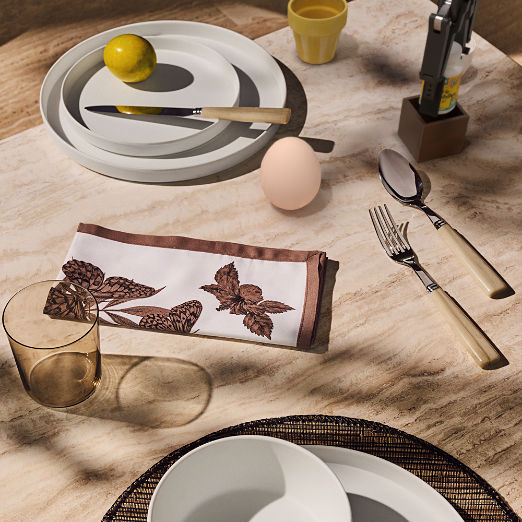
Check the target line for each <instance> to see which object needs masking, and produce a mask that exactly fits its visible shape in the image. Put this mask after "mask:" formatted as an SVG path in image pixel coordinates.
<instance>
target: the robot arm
mask: <svg viewBox="0 0 522 522" xmlns="http://www.w3.org/2000/svg"><path fill="white" fill-rule="evenodd" d="M479 2H480V0H437V2H436V4H437V5H436V6H437V11H436V13H434V12H431V13H430V14H429V16H428V23H427V25H428V27H427V35H426V40H425V46H424V51H423V56H422V62H421V67H420V71H418V78H419V80H421V81H423V80H424V86H423V91H422V97H421V102H420V108H419V112H420V113H423V114H426V115H429V116H432V117H435V118H436V117H437V116H438V112H439V107H440V102H441V98H442V93H443V88H444V83H445V79H446V77H444V73H445V69H446V66H447V62H448V59H449V55H450V52H451V48H452V45H453V41H454V42H457V43H458V44H460V45H461V47H462V53H461V54H465V55H468V54H469V52H470V48H468V47H466V43H467V44H468V43H469V42H470V40H471V37H472V34H473V30H474V25H475V21H476V16H477V11H478V6H479ZM460 59H461V60H462V56H461V58H460Z"/></svg>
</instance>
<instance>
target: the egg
mask: <svg viewBox="0 0 522 522" xmlns="http://www.w3.org/2000/svg"><path fill="white" fill-rule="evenodd" d="M259 168H260V169H259V183H260V186H261V187H260V188H261V190H262V192H263V194H264V196H265V197H266V199H267V200H268V201H269V202H270V203H271V204H273V205H274V206H275V207H277V208H280V209H282V210H287V211H293V210H295V211H296V210H299V209H301V208H304V207H305V206H307V205H308V204H310V203H311V202H312V201H313V200H314V198H316V196H317V194H318V192H319V191H320V190H319V189H320V187H321V183H322V168H321V163H320V160H319V157H318V155H317V154H316V152H315V150H314V149H313V147H312V146H311V145H310V144H309V143H308V142H306V141H305V140H304V139H301V138H299V137H296V136H285V137H282V138H280V139H278V140H276V141H275V142H274V143H273V144H271V146H270V147H269V148H268V150H267V151H266V153H265V154H264V156H263V158H262V160H261V163H260V167H259Z"/></svg>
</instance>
